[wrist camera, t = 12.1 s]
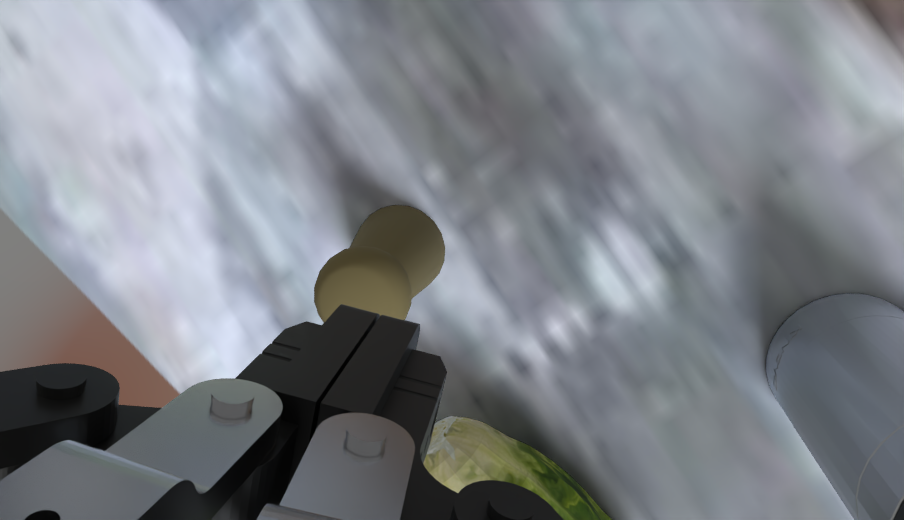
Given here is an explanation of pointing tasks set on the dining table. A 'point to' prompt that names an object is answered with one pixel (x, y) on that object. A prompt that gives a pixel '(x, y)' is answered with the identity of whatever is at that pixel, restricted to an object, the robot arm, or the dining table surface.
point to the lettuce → (503, 466)
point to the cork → (382, 264)
